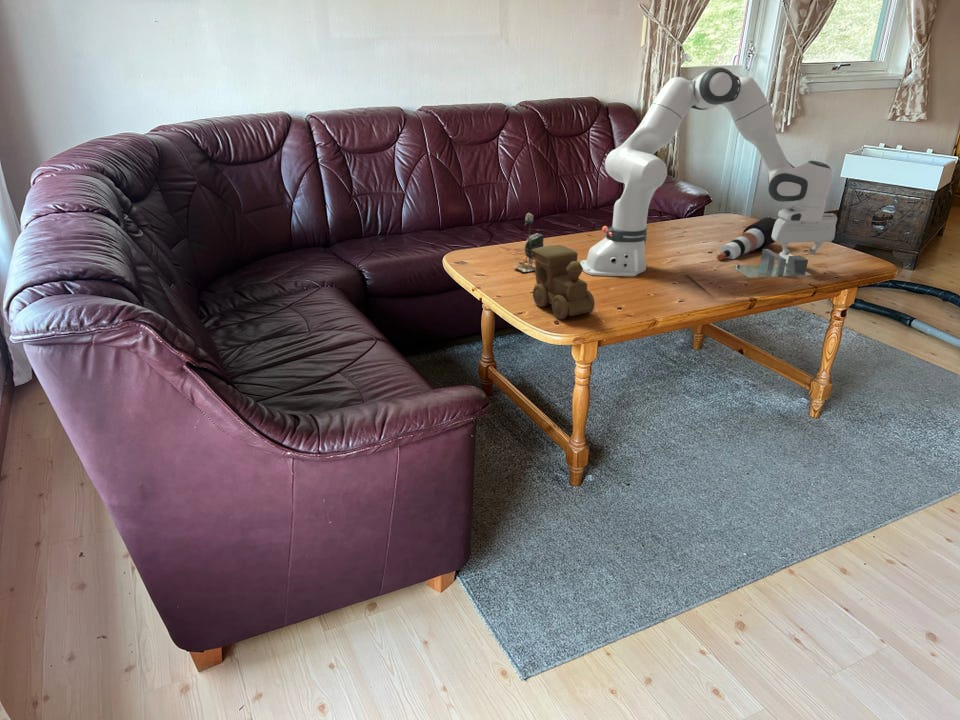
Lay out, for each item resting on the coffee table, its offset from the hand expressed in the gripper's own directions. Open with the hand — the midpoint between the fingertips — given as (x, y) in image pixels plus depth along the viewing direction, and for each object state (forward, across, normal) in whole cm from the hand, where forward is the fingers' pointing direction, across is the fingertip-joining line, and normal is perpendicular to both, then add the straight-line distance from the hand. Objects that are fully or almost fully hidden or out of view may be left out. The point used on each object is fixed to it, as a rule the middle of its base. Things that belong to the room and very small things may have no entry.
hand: (798, 254), depth 224 cm
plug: (+5, -1, -4) cm, 7 cm away
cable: (+7, +8, -22) cm, 24 cm away
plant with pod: (+8, +88, -14) cm, 90 cm away
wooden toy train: (+8, +85, +24) cm, 89 cm away
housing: (+6, +8, 0) cm, 11 cm away
